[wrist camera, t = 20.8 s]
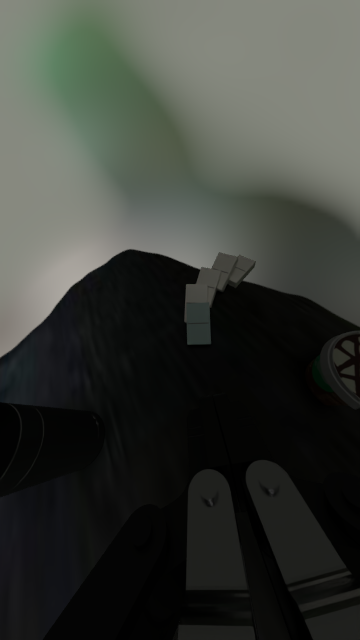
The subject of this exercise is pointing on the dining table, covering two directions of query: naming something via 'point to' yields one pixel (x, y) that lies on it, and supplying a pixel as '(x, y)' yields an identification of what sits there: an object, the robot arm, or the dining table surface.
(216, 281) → the domino
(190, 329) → the domino
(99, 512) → the dining table surface
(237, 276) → the domino
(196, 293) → the domino
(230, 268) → the domino
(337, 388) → the food container
